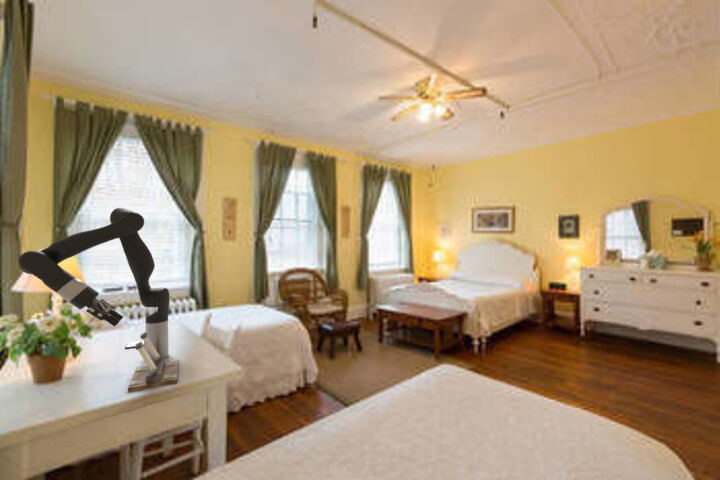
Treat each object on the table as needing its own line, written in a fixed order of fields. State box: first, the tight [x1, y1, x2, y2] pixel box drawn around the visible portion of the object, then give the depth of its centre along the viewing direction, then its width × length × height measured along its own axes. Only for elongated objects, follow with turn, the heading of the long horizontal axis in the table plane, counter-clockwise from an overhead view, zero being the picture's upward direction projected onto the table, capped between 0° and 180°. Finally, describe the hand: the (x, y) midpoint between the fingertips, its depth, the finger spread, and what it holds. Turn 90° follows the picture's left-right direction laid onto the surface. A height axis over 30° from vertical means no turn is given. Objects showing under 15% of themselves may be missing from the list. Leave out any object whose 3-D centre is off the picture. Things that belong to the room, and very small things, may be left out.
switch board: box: [127, 357, 180, 393], centre depth 132 cm, size 16×21×4 cm
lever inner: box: [139, 331, 160, 361], centre depth 137 cm, size 2×4×13 cm, turn 27°
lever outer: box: [134, 342, 157, 373], centre depth 124 cm, size 2×4×13 cm, turn 27°
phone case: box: [124, 340, 144, 350], centre depth 171 cm, size 9×2×16 cm
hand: (119, 321), depth 120 cm, fingers open, 6 cm apart
